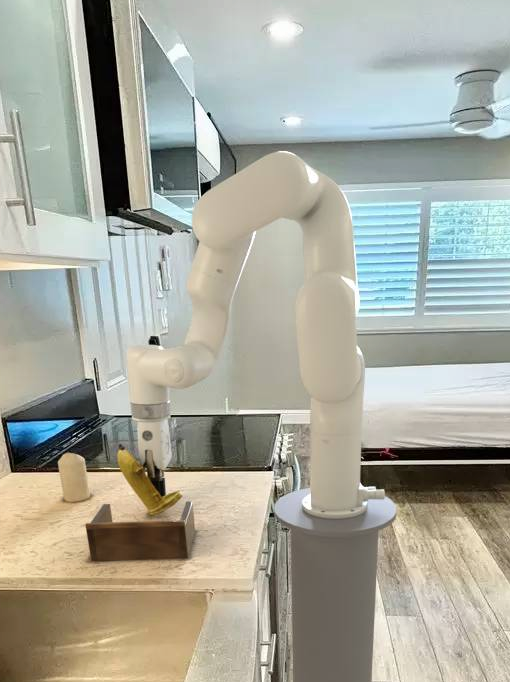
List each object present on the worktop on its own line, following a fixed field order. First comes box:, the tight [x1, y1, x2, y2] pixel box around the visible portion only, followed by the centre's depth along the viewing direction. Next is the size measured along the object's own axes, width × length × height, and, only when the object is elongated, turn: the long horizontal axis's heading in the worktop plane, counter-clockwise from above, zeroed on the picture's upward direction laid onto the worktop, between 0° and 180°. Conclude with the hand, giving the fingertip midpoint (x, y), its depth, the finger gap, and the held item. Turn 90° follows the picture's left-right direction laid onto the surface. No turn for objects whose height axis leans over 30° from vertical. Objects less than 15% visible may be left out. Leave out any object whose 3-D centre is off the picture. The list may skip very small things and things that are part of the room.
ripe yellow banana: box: [117, 443, 183, 516], centre depth 112 cm, size 12×8×15 cm
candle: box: [57, 452, 91, 503], centre depth 124 cm, size 6×6×10 cm
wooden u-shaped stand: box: [85, 501, 196, 562], centre depth 101 cm, size 16×11×7 cm
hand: (157, 496), depth 119 cm, fingers closed
